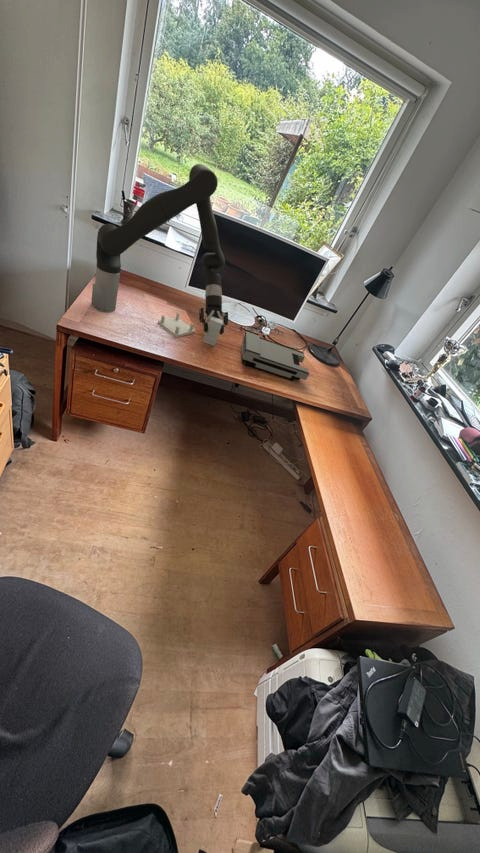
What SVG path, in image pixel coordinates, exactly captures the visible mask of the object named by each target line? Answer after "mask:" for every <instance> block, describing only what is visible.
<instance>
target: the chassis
mask: <svg viewBox="0 0 480 853" xmlns="http://www.w3.org/2000/svg"><path fill="white" fill-rule="evenodd" d="M180 315H181V313H180V312H176V315H175V317H171V318H166V315H165V314H162V315H161V317H160V320H158V321H157V324H158V325H160V327H162V328H163V329H164V330H166V331H167V332H168V333H170V334H171V335H172V336H173V337H175V338H179V337H182V336H188V335H193V334H195V331H196V330H195V329H194V325H195V324H194V322H193V323H190V325H188V324H187V323H186V322H184V321H183V320H182V319H181V318H180Z"/></svg>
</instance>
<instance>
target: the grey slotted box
mask: <svg viewBox="0 0 480 853" xmlns="http://www.w3.org/2000/svg"><path fill="white" fill-rule="evenodd" d="M241 357H242V358H241V362H242V363H244V367H248V368H250V369H254V370H257V371H260V372H263V373H266V374H269V375H272V376H275V377H278V378H281V379H284V380H287V381H290V382H294V380H296V381H300V380H301V379H302V380H305V381H306V380H307V379H308V377H309V375H310V373H309V369H308V368H307V367H306V366H305V367H304V366H302V365H301V364H303V361H304V360H305V357H306V356H305V352H304V351H300V350H298V349H295V348H292V347H290V346H287V345H284V344H281V343H277V342H275V341H272V340H270V339H267V338H263V337H261V336H260V334H259V333H258V332H257V333H256V332H253V331H251V330H248V329H246V330H245V331H244V335H243V338H242V344H241Z"/></svg>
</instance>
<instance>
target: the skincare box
mask: <svg viewBox="0 0 480 853" xmlns="http://www.w3.org/2000/svg"><path fill="white" fill-rule="evenodd" d="M222 323H223V320H221V319H218V318H215V317H213V316H211V318H210V319H209V321H208V332H207V333H206V332H204V336H203V340H202V342H203V343H204V344H207V345H210V346H212V347H215V346H216V343H217V341H218V339H219V338H218V337H219V335H220V329H221V326H222Z"/></svg>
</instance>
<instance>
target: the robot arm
mask: <svg viewBox="0 0 480 853" xmlns="http://www.w3.org/2000/svg"><path fill="white" fill-rule="evenodd" d="M188 178H189V180H188V181H187V182H186V183H184V184H183V185H181V186H179V187H177V188H174V189H169V190H165V191H163V192H160V193H158V194H155V195H154V196H152V197H151V198H149V199H148V200H146V201H145V202H144V203H142V204H141V205H140V206H139V207H138V209H137V210H136V211H135V212H134V213H133V215H132V216H131V218H130V219H129V220H128V221H126V222H124V223H123V224H121V225H119V226H116V225H114V224H112V223H105V224H102V225H101V226H100V227H99V229H98V231H97V235H96V236H97V237H96V251H95V252H96V253H95V254H96V255H95V256H96V257H95V258H96V267H95V278H94V279H95V280H94V283H92V289H91V301H90V302H91V303H90V304H91V306H93V307H94V308H95V309H96V310H97V311H99V312H105V313H112V312H115V311H116V308H117V300H118V293H119V285H120V284H119V283H120V278H121V270H122V269H121V267H122V265H121V254H123V253H124V252H126V251H127V250H128V249H130V247H132V246H133V245H134V244H135V243H136V242H138V241H139V240H140V239H142V238H143V237H145V236H147V235H148V234H150V233H152V232H153V231H155V230H157V229H158V228H160V227H161V226H163V225H164V224H166V223H168V222H169V221H170V220H172V219H173V218H175V217H177V216H178V215H180V214H181V213H182V212H184V211H186V210H188V208H190V207H191V206H193V205H196V210H197V213H198V214H197V215H198V221H199V226H200V233H201V238H202V244H203V248H204V249H206V250H208V251H212V252H206V253H205V252H204V254H203V255H202V257H201V264H202V267H203V271H204V274H205V295H204V297H205V308H203V307H200V308H199V309H198V313H199V314H198V317H199V318H198V319H199V322H200V323H202V325H203V331H204V333H207V332H208V323H209V320H210V318H211V316H213V317H215V318H218V319H221V320H223V323H222V326H221V329H220V332H219V335H223V334H224V332H225V326H228V325H229V312H227V311H223V310H222V309H223V290H222V275H221V274H220V273H218V272H214V270H222V269H224V267H225V265H226V259H225V255H224V253H223V251H222V249H221V245H220V239H219V233H218V231H219V230H218V226H217V222H216V218H215V215H214V211H213V208H212V202H211V197H212V195H214V193H215V192H216V191H217V187H218V182H219V180H218V177H217V175H216V174H215V172H214V171H213V170H212V169H211V168H209V167H208V166H206V165H205V164H202V163H196V164H195V165H193V166H192V167H191V169H190V171H189V175H188ZM212 270H213V271H212ZM205 314H206V317H205Z"/></svg>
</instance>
